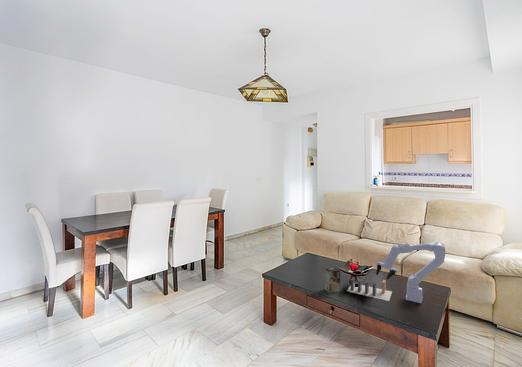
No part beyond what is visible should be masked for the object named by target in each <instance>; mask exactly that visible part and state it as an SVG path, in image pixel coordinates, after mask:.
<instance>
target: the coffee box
mask: <svg viewBox="0 0 522 367" xmlns="http://www.w3.org/2000/svg"><path fill="white" fill-rule="evenodd" d="M324 289H325V291H326V292H328V293H329V294H330V293H338V292H341V270H340V269H338V268H337V267H335V266H334V267H328V268H324Z"/></svg>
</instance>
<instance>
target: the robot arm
mask: <svg viewBox="0 0 522 367" xmlns="http://www.w3.org/2000/svg"><path fill="white" fill-rule="evenodd" d="M421 250H422V251H424V250H427V251H429V252H433V254H434V258H433V259H432V260H430V261H429V262H428V263H427V264H425V265H424V266H423V267H422V268H421V269H419V270H418V271H417V272H415V273H413V274H410V275H408V278H407V282H406V294H405V301H410V302H414V303H418V304H422V302H423V300H424V299H423V298H424V297H423V288H422V287H420V286H419V284H420V283H422V281H423V279H425V278H426V277H428V276H429V275H430V274H431V273H432V272H433V271H435V270H436V269H437V268H439V267H440V266H441V265H443V263H445V259H446V248H445V245H444V244H443V243H442V242H440V241H436V242H433V241H432V242H426V243H425V242H424V243H420V244H413V245H412V244H410V243H408V242H405V243H404V244H403V243H402V244H399V243H398V244H393V245H392V246H391V249H390V251H389V252H388V254H387V256H386V258H385V260H384V262H381V261H378V260H377V261H376V263H375V264H376V272H375V275H376V276H379V273H380V272H381V271H382V267H383V268H384V269H387V270H389V272H388V274H387V276H386V281H387V280H389V279H390V278H392V277H393V276H395V275H396V274H397V273H399V272H398V271H399V269H397V268H395V267H394V264H395V262H396V261H397V259H398V256H399V255H401V254H408V253H410V254H411V253H413V251H421Z"/></svg>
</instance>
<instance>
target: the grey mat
mask: <svg viewBox="0 0 522 367" xmlns="http://www.w3.org/2000/svg"><path fill="white" fill-rule="evenodd" d="M346 292H349V293H353V294H358V295H360V296H361V295H362V296H366V297H371V298H375V299H378V300H381V301H382V300H383V301H386V302H390V300H391V297H392V293H393V291H392V290H387V289H386V291H385V294H383V293H382V288H377V287H376V295H375V296H373V286H369V292H368V294H365V284H362V290H361V292H358V287H355V288H354V290H353V291H351V285H350V286H348V288H347V289H346Z"/></svg>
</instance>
